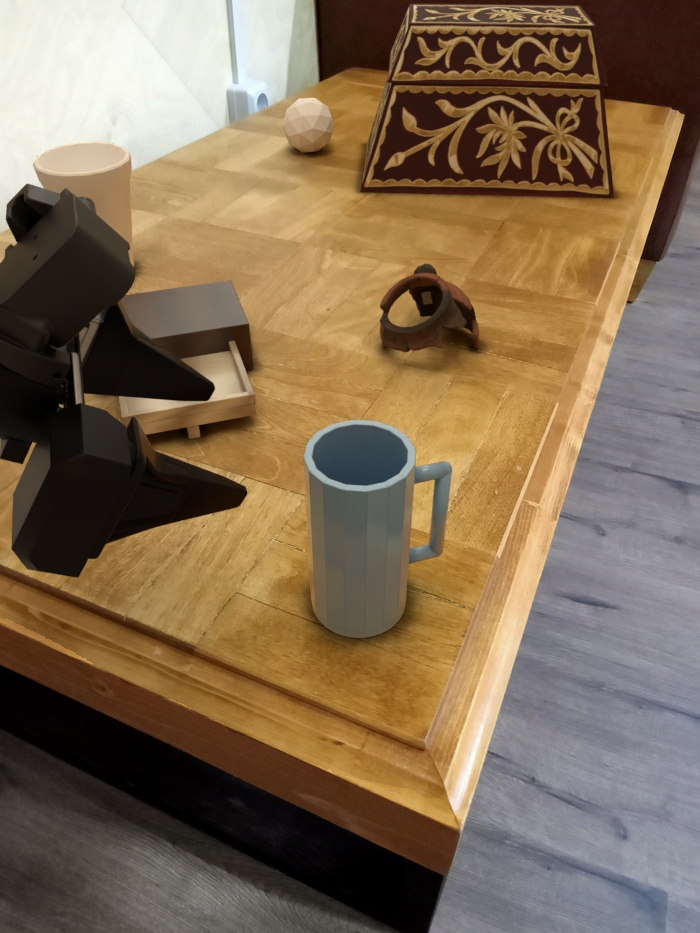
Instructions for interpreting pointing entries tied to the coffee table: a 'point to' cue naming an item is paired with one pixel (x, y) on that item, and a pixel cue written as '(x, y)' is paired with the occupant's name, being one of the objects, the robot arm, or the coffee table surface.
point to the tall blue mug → (366, 523)
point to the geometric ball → (308, 125)
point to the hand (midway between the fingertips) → (226, 440)
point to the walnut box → (195, 354)
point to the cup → (92, 180)
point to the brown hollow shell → (427, 311)
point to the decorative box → (492, 104)
